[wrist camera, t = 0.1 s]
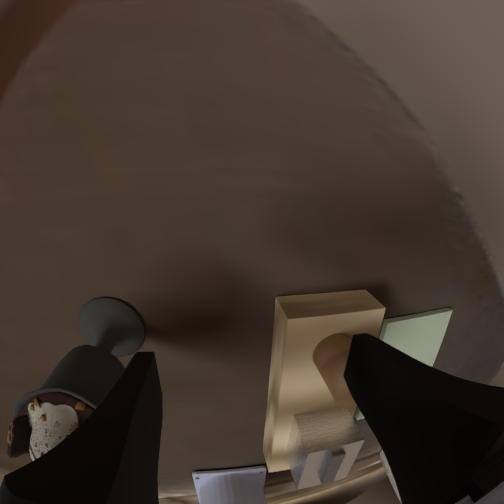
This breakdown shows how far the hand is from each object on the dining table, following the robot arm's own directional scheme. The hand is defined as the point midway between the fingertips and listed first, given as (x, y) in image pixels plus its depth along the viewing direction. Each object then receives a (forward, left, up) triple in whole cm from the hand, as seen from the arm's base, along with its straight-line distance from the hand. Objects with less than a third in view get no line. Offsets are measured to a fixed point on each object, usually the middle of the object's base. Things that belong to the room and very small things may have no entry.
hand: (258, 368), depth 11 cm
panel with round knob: (-11, -7, -10) cm, 17 cm away
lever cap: (-14, -7, -7) cm, 18 cm away
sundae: (-4, +8, -10) cm, 14 cm away
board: (-11, -17, -10) cm, 23 cm away
